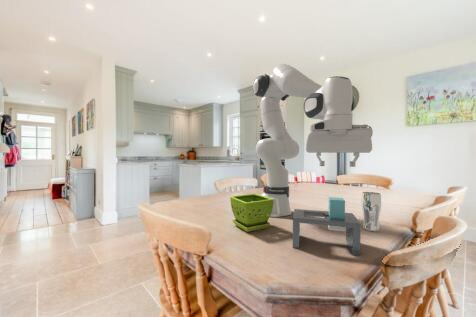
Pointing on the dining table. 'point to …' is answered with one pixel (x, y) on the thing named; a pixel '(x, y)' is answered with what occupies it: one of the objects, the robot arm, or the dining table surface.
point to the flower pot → (251, 211)
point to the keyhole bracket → (348, 222)
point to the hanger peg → (336, 211)
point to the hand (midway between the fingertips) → (336, 166)
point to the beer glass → (371, 210)
